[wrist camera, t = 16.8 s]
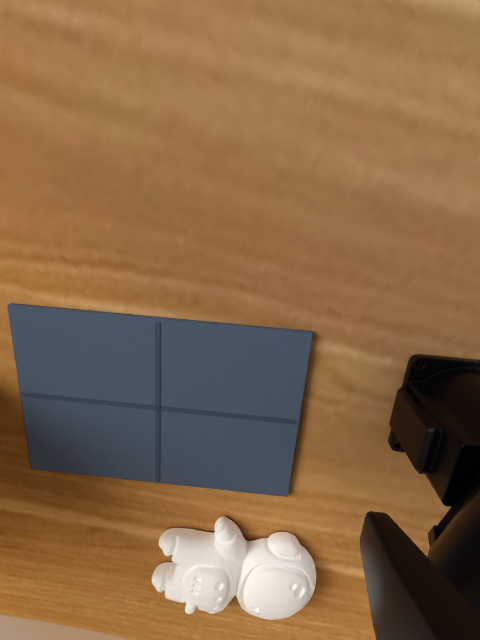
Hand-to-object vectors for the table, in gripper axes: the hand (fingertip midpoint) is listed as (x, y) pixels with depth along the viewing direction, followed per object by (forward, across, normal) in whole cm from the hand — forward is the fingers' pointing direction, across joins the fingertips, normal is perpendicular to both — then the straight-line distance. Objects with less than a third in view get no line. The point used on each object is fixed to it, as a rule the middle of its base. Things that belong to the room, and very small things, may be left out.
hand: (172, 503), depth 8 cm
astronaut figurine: (+13, -2, +19) cm, 23 cm away
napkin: (+13, +4, +6) cm, 15 cm away
